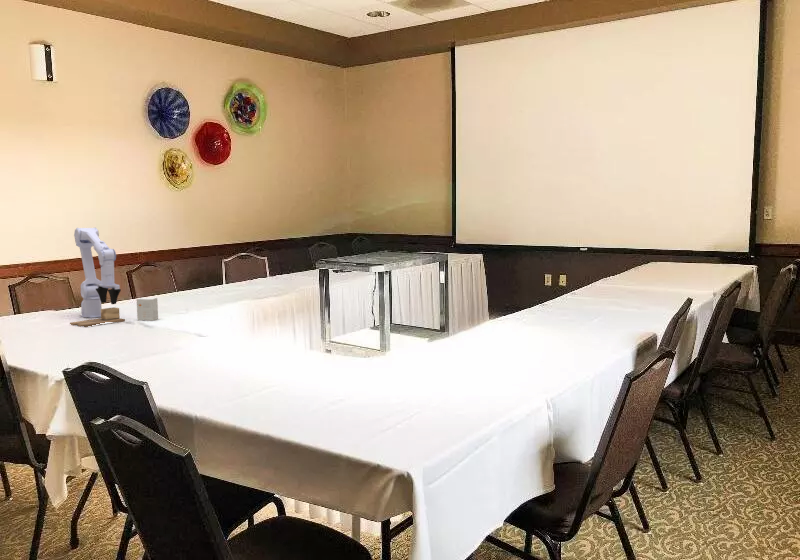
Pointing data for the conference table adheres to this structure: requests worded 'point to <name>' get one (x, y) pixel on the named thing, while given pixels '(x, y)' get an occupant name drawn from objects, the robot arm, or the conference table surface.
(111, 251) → the robot arm
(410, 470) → the conference table surface
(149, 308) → the small box
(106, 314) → the block
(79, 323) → the board
